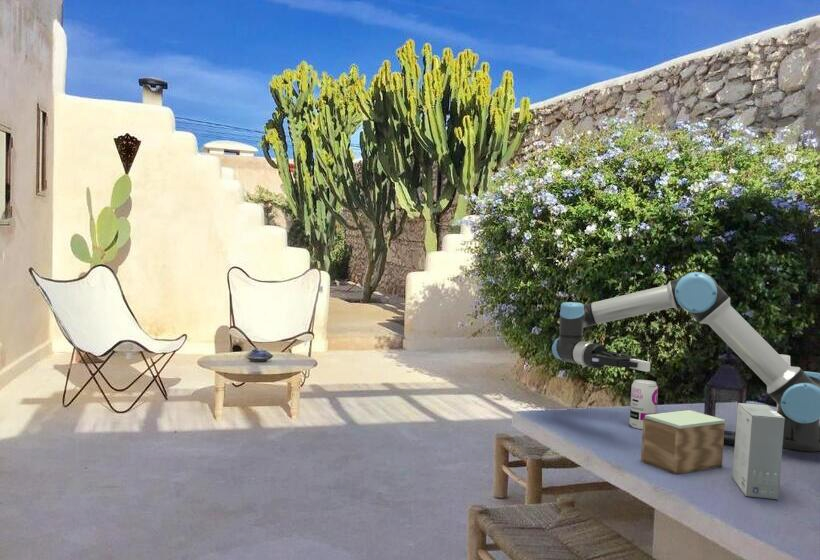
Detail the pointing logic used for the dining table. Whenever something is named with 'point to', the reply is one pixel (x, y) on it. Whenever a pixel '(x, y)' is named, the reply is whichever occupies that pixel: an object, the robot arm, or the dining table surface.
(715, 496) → the dining table surface
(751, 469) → the hard drive box
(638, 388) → the supplement can
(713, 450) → the crate
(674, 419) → the lid
